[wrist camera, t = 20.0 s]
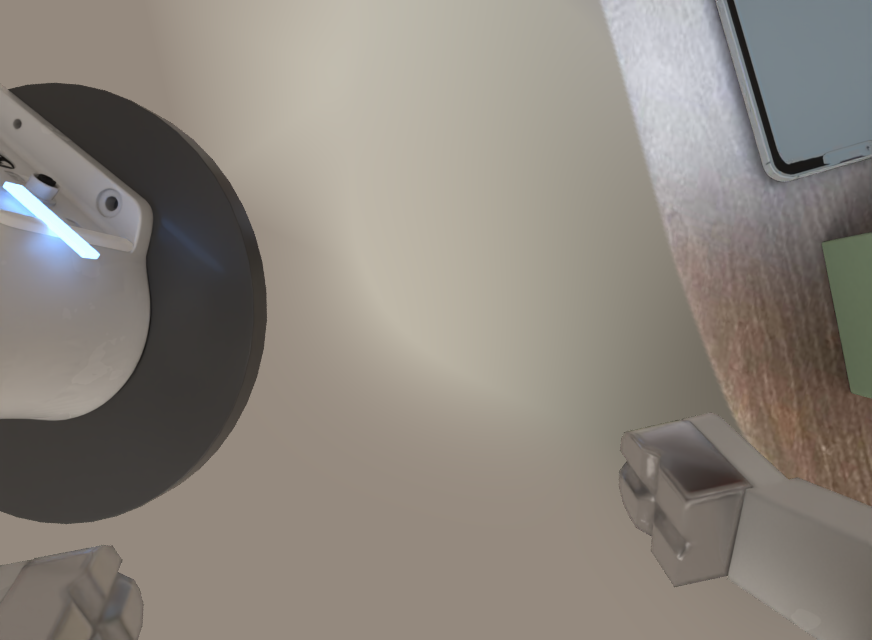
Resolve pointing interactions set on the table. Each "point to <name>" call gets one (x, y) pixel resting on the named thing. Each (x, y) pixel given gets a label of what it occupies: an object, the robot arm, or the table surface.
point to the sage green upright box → (853, 304)
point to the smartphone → (804, 80)
